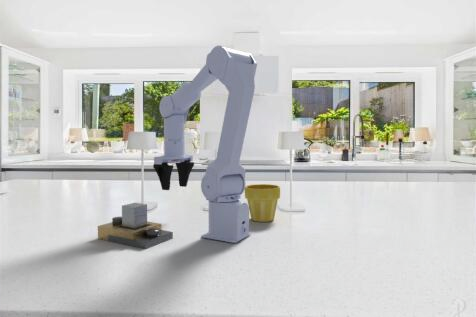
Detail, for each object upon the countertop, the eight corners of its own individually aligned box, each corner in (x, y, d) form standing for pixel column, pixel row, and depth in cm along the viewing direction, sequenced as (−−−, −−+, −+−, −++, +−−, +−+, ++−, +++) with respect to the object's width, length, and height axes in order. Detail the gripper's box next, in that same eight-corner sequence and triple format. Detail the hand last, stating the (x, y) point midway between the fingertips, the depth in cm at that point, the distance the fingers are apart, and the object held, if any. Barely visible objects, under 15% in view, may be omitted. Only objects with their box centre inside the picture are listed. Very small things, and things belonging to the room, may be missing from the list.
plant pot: (237, 219, 99) (237, 186, 98) (259, 213, 106) (259, 182, 106) (265, 225, 92) (265, 190, 91) (286, 219, 99) (287, 186, 99)
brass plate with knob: (172, 238, 80) (172, 220, 80) (145, 249, 72) (144, 229, 72) (127, 229, 87) (127, 213, 87) (97, 238, 80) (97, 220, 79)
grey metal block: (147, 237, 81) (147, 204, 80) (134, 242, 77) (134, 207, 77) (135, 235, 83) (134, 202, 82) (122, 239, 79) (121, 205, 79)
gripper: (179, 140, 104) (179, 184, 105) (145, 140, 91) (145, 190, 92) (198, 140, 100) (198, 185, 101) (165, 140, 88) (165, 192, 89)
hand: (174, 188), depth 96 cm, fingers open, 7 cm apart
